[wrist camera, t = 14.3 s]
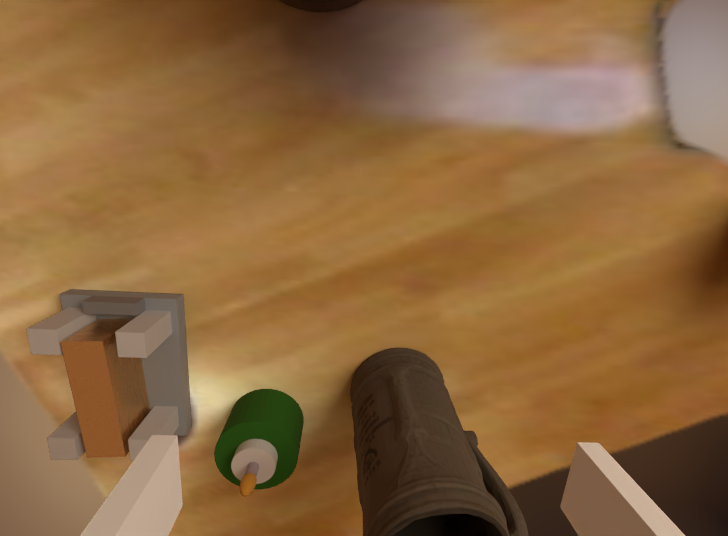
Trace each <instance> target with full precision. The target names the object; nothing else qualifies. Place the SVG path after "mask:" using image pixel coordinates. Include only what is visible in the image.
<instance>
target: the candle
mask: <svg viewBox="0 0 728 536" xmlns="http://www.w3.org/2000/svg"><path fill="white" fill-rule="evenodd" d="M302 429H303V414H302V410H301V408H300V406H299V405H298V404H297V402H296V401H295V400H294V399H293V398H292V397H290V396H289V395H287V394H285V393H283V392H281V391H278V390H273V389H259V390H255V391H252V392H249V393H247V394H246V395H244V396H242V397H241V398H240V399H239V400H238V401H237V402H236V404H235V405H234V407H233V409H232V411H231V414H230V416H229V418H228V420H227V422H226V424H225V427H224V429H223V431H222V433H221V435H220V437H219V440H218V442H217V444H216V447H215V452H214V455H215V462H216V465H217V467H218V469H219V471H220V472H221V473H222V475H223V476H224V477H225V478H226V479H228V480H229V481H230V482H232V483H234V484H236V485H238V486H240V492H241V494H242V496H248V495H249V494H250V493H251V492H252V491H253V490H254V489H266V488H271V487H274V486H277V485H278V484H280V483H282V482H284V481H285V480H286V479H287V478H289V476H290V475H291V474H292V473H293V471H294V469H295V467H296V464H297V460H298V454H299V448H300V441H301V435H302Z"/></svg>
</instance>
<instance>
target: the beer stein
mask: <svg viewBox="0 0 728 536" xmlns="http://www.w3.org/2000/svg"><path fill="white" fill-rule="evenodd" d="M350 395H351V402H352V416H353V422H354V447H355V452H356V460H357V470H358V473H357V480H358V490H359V498H360V504H361V506H362V511H363V536H528V531H527V527H526V523H525V520H524V517H523V515H522V513H521V511H520V509H519V507H518V505H517V503H516V501H515V499H514V498H513V496H512V494H511V493H510V491H509V490H508V488H507V486H506V485H505V483H504V482H503V481H502V479H501V478H500V477H499V475H498V474H497V473H496V471H495V470H494V469H493V467H492V466H491V465H490V464H489V462H488V461H487V460H486V459H485V457H484V456H483V455H482V453H481V452H480V451H479V449H478V448H477V445H478V443H477V437H476V434H475V433H474V431H464V430H463V428H462V426H461V423H460V421H459V418H458V416H457V414H456V411H455V408H454V406H453V404H452V401H451V399H450V396H449V393H448V390H447V388H446V387H445V385H444V380H443V376H442V374H441V372H440V370H439V368H438V366H437V365H436V363H435V362H434V361H433V360H431V359H430V358H429V357H428V356H427V355H425V354H423V353H421V352H419V351H416V350H413V349H408V348H391V349H387V350H384V351H381V352H379V353H377V354H375V355H373V356H371V357H370V358H369V359H367V360H366V361H365V362H364V363H363V364H362V365H361V366H360V367H359V369H358V370H357V371H356V373H355V375H354V378H353V380H352V385H351V393H350Z"/></svg>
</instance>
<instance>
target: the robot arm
mask: <svg viewBox="0 0 728 536" xmlns="http://www.w3.org/2000/svg"><path fill="white" fill-rule="evenodd" d="M280 1H282V2H284V3H286V4H288V5H290V6H293V7H296V8H299V9H303V10H307V11H315V12H327V11H335V10H340V9H343V8H346V7H349V6H351V5H354V4H356V3H358V2H359V1H361V0H280ZM182 506H183V502H182V489H181V476H180V463H179V450H178V437H177V435H152V436H151V437H150V439H149V440H148V441H147V443H146V444H145V446H144V447H143V448H142V450H141V451H140V453H139V454H138V455H137V457H136V458H135V460H134V461H133V462H132V464H131V465H130V467H129V468H128V469H127V471H126V472H125V474H124V475H123V476H122V478H121V479H120V480H119V482H118V483H117V485H116V486H115V487H114V489H113V490H112V492H111V493H110V494H109V496H108V497H107V499H106V500H105V501H104V503H103V504H102V506H101V507H100V509H99V510H98V511H97V513H96V514H95V516H94V517H93V518H92V520H91V521H90V522H89V524H88V525H87V527H86V528H85V529H84V531H83V532H82V534H81V535H80V536H168V535H169V533H170V531H171V529H172V527H173V525H174V523H175V521H176V519H177V517H178V514H179V512H180V510H181V508H182ZM560 507H561V509H562V510H563V512H564V513H565V515H566V517H567V518H568V520H569V521H570V523H571V524H572V526H573V528H574V529H575V531H576V532H577V534H578V535H579V536H685V535H684V534H683V533H682V532H681V531H680V530H679V529H678V527H677V526H676V525H675V524H674V523H673V522H672V521H671V520H670V519H669V518H668V517H667V516H666V515H665V514H664V512H663V511H662V510H661V509H660V508H659V507H658V506H657V505H656V504H655V503H654V502H653V501H652V500H651V499H650V498H649V496H648V495H647V494H646V493H645V492H644V491H643V490H642V489H641V488H640V487H639V486H638V485H637V484H636V482H635V481H634V480H633V479H632V478H631V477H630V476H629V475H628V474H627V473H626V472H625V471H624V470H623V469H622V467H621V466H620V465H619V464H618V463H617V462H616V461H615V460H614V459H613V458H612V457H611V456H610V455H609V453H608V452H607V451H606V450H605V449H604V448H603V447H602V446H601V445H600V444H599V443H581V442H577V445H576V449H575V452H574V456H573V460H572V464H571V468H570V472H569V476H568V480H567V483H566V487H565V491H564V495H563V499H562V503H561V506H560Z"/></svg>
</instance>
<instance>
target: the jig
mask: <svg viewBox="0 0 728 536" xmlns="http://www.w3.org/2000/svg"><path fill="white" fill-rule="evenodd" d="M60 300H61V306H62V311H60V312H58V313H57V314H55V315H53V316H51V317H49V318H47V319H45V320H43V321H41V322H39V323H37V324H35V325H33V326H31V327H29V328H27V334H28V340H29V345H30V350H31V354H38V355H62V354H63V352H62V347H61V343H60V342H61V341H63V340H64V339H66V338H68V337H69V336H71V335H72V334H74V333H76V332H77V331H79V330H81V329H82V328H84V327H85V326H87V325H89V324H90V323H92V322H94V321H95V320H97V319H121V318H134V319H133V320H131V321H130V322H128V323H127V324H126V325H124V326H123V327H121V328H120V329H119V330H117V331H116V332H115V334H116V343H117V351H118V357H132V358H141V360H142V366H143V372H144V377H145V383H146V389H147V395H148V401H149V406H150V412H149V414H148V415H147V416H146V417H145V419H144V420H143V421H142V423H141V424H140V425H139V426H138V428H137V429H136V430H135V431H134V433H133V434H132V435H131V436H130V438H129V439H128V444H129V452H130V460H131V461H134V460H135V458H136V457H137V455H138V454H139V453H140V451H141V450H142V448H143V447H144V446H145V444H146V443H147V441H148V440H149V439H150V437H151V436H152V435H177V436H187V434H188V432H189V430H190V429H191V427H192V422H191V407H190V391H189V375H188V360H187V344H186V329H185V313H184V298H183V294H166V293H143V292H120V291H98V290H75V289H70V290H68V291H66V292H64V293H61V294H60ZM47 441H48V447H49V452H50V457H51V460H78V459H79V458H80V457H81V456H82V455H83V454H84V453H85V451H86V450H85V446H84V441H83V437H82V433H81V429H80V424H79V420H78V416H77V411H76V412H75V413H74V414H73V415H72V416H71V417H70V418H68V419H67V420H66V421H65V422H64V423H63V424H62V425H61V426H60V427H59V428H58V429H56V430H55V431H54V432H53V433H52V434H51V435H50V436H49V437H48V438H47Z"/></svg>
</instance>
